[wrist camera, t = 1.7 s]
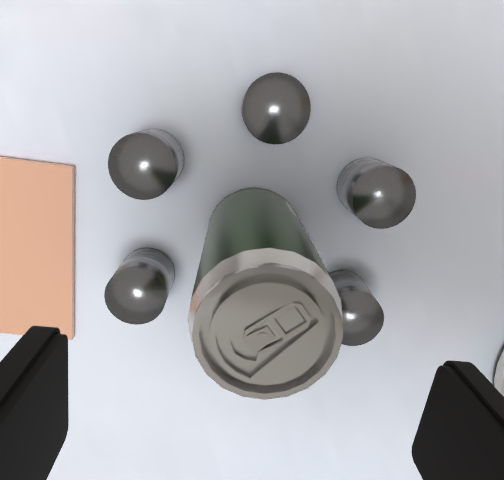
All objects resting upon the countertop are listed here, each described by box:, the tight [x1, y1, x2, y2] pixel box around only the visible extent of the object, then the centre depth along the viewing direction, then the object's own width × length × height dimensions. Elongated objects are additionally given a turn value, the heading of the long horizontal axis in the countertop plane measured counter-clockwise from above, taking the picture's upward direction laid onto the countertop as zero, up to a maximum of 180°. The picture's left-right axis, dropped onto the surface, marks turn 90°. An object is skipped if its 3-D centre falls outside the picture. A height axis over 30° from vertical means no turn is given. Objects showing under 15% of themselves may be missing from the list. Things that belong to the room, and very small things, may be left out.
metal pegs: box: [105, 73, 416, 346], centre depth 23 cm, size 15×17×4 cm
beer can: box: [188, 188, 343, 399], centre depth 19 cm, size 5×5×12 cm
